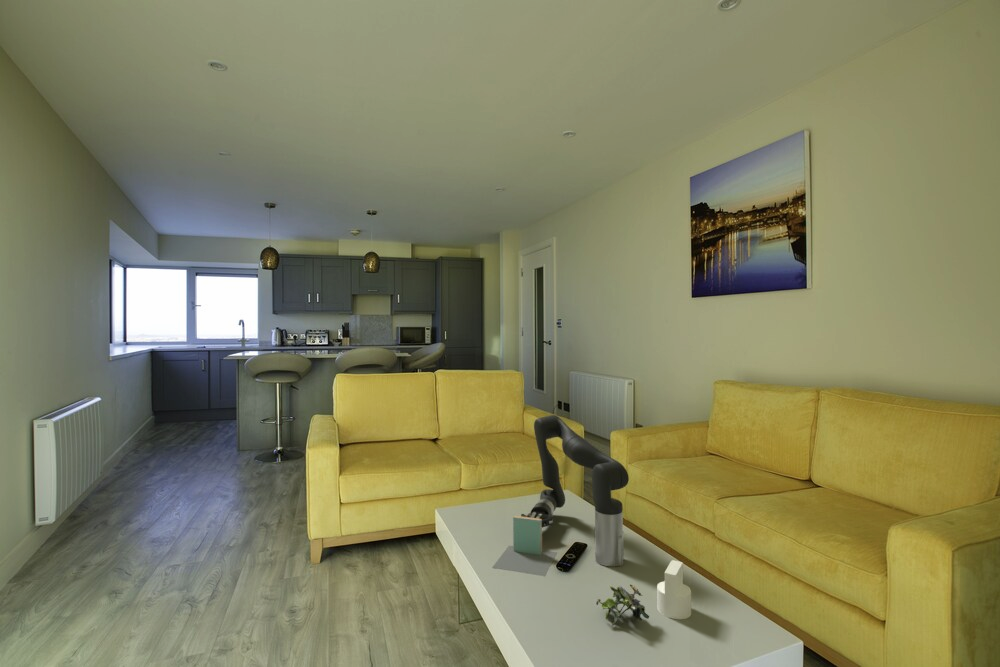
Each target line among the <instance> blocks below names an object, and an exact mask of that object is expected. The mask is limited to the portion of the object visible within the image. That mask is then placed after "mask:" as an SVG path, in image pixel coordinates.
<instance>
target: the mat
mask: <svg viewBox="0 0 1000 667" xmlns="http://www.w3.org/2000/svg"><path fill="white" fill-rule="evenodd" d="M557 553H558V552H557V551H550V550H544V549H542V554H541V555H538V554H531V553H524V552H517V551H514V545H508V546H507V547H506V548H505V550H504V551H503V552H502V554H501V555H500V556H499V558H498V559H497V560H496V562H495V563H494V564H493V566H492V567H491V568H492V569H497V570H504V571H511V572H517V573H522V574H531V575H537V576H541V577H545V576H546V575H547V573H548V571H549V569H550V567H551V566H552V564H553V561H554V560H555V558H556V556H557Z"/></svg>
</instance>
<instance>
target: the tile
mask: <svg viewBox="0 0 1000 667" xmlns="http://www.w3.org/2000/svg"><path fill="white" fill-rule="evenodd" d="M512 520H513V525H512V526H513V531H512V532H513V546H514V551H517V552H524V553H531V554H538V555H541V554H542V550H543V527H542V519H538V518H529V517H521V515H520V516H519V515H514V516H513V518H512Z"/></svg>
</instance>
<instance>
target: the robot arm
mask: <svg viewBox="0 0 1000 667" xmlns="http://www.w3.org/2000/svg"><path fill="white" fill-rule="evenodd" d="M533 423H534V424H533V430H534V431H533V432H534V436H535V442H536V446H537V450H538V454H539V459H540V463H541V473H542V483H543V485H544V486H545V487H547V489H543V490H541V492H540V494H539V495H540V496H539V501H537V502H536V504H535V505H534V506H533V507H532V508H531V510H530V511H529V513H527V514H525V513H521V515H520V516H521V517H529V518H538V519H542V528H545V527H550V526H552V525H553V524H554V517H553V514H554V512H555V511H556V508H558V509H560V508H563V507H564V505H566V504H565V503H566V495H565V493H564V490H563V488H562V484H561V479H560V468H559V465H558V462H557V460H556V458H555V457H554V455H552V453H551V452H550V451H549V449H548V446H547V440H550V439H555V438H560V439H561V448H562V452H563V453H564V455H565V456H566V457H568V458H569V459H570V460H571V461H572V462H573V463H575V464H577V465H579V466H582V467H584V468H587V469H590V470H591V469H592V471H591V485H592V499H593V503H594V528H595V529H594V532H595V533H594V534H595V535H594V538H595V540H594V542H595V546H594V550H595V553H594V554H595V561H596V562H597V564H600V565H602V566H606V567H617V566H619V567H620V566H621V567H623V563H624V560H625V558H624V557H625V552H624V551H625V549H624V548H625V544H624V541H625V540H624V539H625V538H624V529H623V528H624V524H623V522H624V521H623V513H624V512H623V509H624V508H623V502H622V501H620V500H619V499H616V498H614V497H612V496H611V491H612V492H613V491H617V490H621V489H624V488H625V487H627V485H628V484H629V480H630V479H629V478H630V477H629V473H628V471H627V469H626V468H625V466H624V465H623V464H622V463H621V462H619V461H618V460H617V459H614V458H612V457H610V456H608V455H607V454H605V453H604V452H602V451H601V450H599V449H598V448H597V447H595V446H594V445H592V443H590V442H589V441H588V440H586V439H585V438H583V437H582V436H581V435H579V434H578V433H577V432H576V431H574V430H573V429H572V428H571V427H570V426H569V425H567V423H566V422H564V421H563V419H561V417H560V416H557V415H555V414H551V415H545V416H542V417H537V418H536V419H535V420H534V422H533ZM548 488H549V489H548Z"/></svg>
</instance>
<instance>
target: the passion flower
mask: <svg viewBox="0 0 1000 667" xmlns="http://www.w3.org/2000/svg"><path fill="white" fill-rule="evenodd" d="M609 586H610V587H609V588H610V590H611V591H613V595H612V598H615V600H614V599H612V598H607V599H606V600H605V601H603V602H602V601H601V599H600V598H598V599H597V601H596V604H595V605H597V606H598V605H599V603H600V604H601V609H602V610H607V612H606V614H605V620H607V619H608V617H609V614H611V613H612V612H613V618H614V619H613V623H612V625H611V626H614V625H615V624H616V622H617V621H618V620H619V619H620V618H621V617H622V615H623V614H624V613H625V612H626V611H628V610H630V611H631V612H632V615H633V617H634V618H635V619H636V620H639V621H642V620H643V619H642V617H643V618H645V619H649V618H650V615H649V614H648V613H647V612H646V607H645V606H644V605H643V604H642V603H640V602H641V600H639V599H637V598H635V595H638V596H640V597H642V596H643V594H641V592H640V591H639V589H638V588H637V587H635V586H634V585H633V584H629V586H630V588H631V589H632V590H633V593H629V592H628V591H627V590H626V589H625V588H623V587H622V586H617V587H616V588H615V587H613V586H612V584H610V585H609ZM622 604H623V605H622ZM618 605H622V607H621V609H620V610H619V608H618ZM625 606H626V607H627V608H625V609H624V610H623V608H624V607H625ZM615 610H616V611H615ZM641 615H642V616H641Z"/></svg>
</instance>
